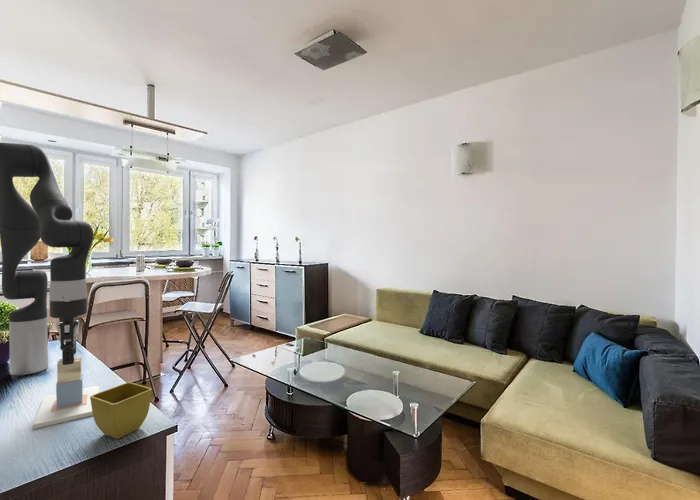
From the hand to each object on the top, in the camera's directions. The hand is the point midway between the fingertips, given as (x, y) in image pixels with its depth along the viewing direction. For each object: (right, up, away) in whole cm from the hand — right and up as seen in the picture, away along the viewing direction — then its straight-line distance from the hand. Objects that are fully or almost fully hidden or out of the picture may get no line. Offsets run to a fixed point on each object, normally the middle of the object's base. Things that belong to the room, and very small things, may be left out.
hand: (69, 359), depth 89 cm
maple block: (0, -5, 0) cm, 5 cm away
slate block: (0, -11, 0) cm, 11 cm away
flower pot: (+22, -13, -12) cm, 28 cm away
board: (0, -12, 0) cm, 12 cm away
